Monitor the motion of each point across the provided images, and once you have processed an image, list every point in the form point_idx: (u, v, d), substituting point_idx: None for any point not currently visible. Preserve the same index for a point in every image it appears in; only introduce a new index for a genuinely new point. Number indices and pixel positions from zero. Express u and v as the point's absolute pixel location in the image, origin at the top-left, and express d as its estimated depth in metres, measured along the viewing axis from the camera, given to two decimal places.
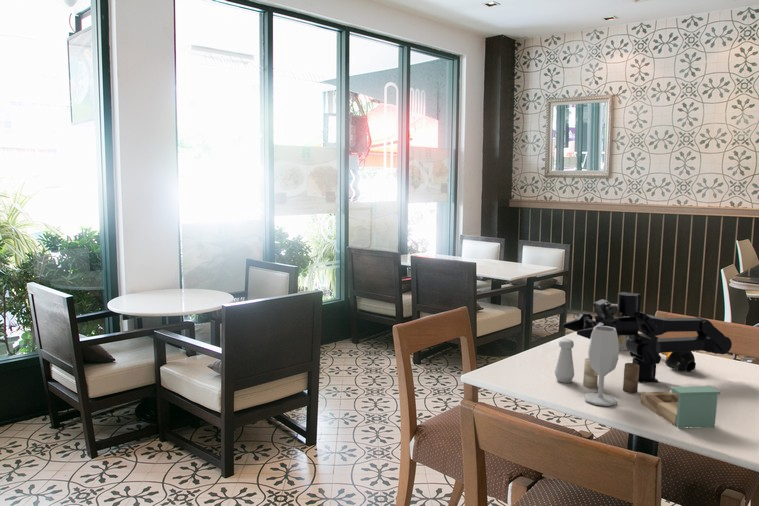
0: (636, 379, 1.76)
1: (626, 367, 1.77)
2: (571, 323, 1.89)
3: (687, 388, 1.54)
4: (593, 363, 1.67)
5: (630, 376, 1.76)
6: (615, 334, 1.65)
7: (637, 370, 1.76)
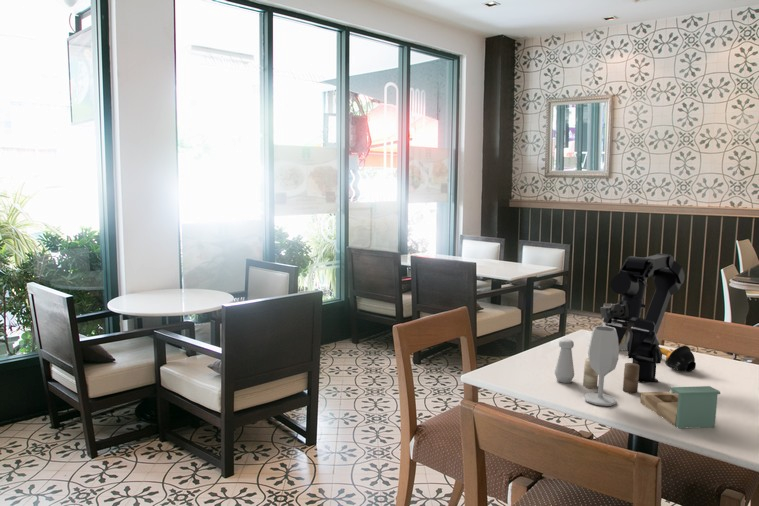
0: (636, 379, 1.76)
1: (626, 367, 1.77)
2: None
3: (687, 388, 1.54)
4: (593, 363, 1.67)
5: (630, 376, 1.76)
6: (615, 334, 1.65)
7: (637, 370, 1.76)
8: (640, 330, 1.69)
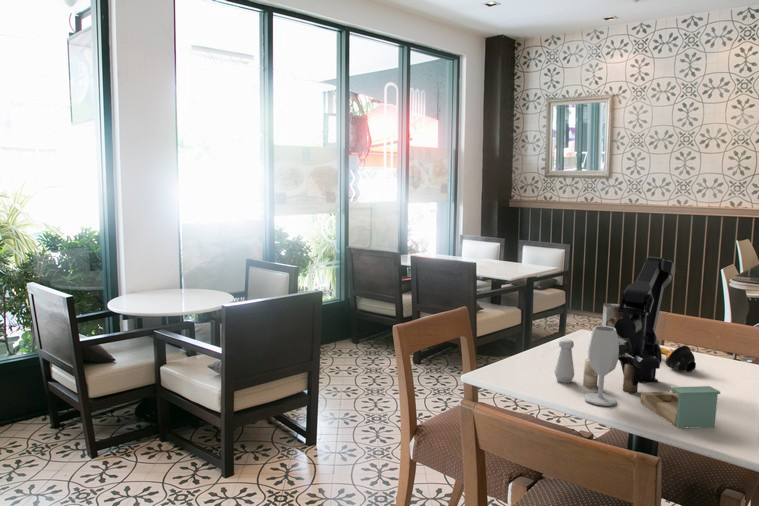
0: None
1: (626, 367, 1.77)
2: None
3: (687, 388, 1.54)
4: (593, 363, 1.67)
5: (630, 376, 1.76)
6: (615, 334, 1.65)
7: None
8: None
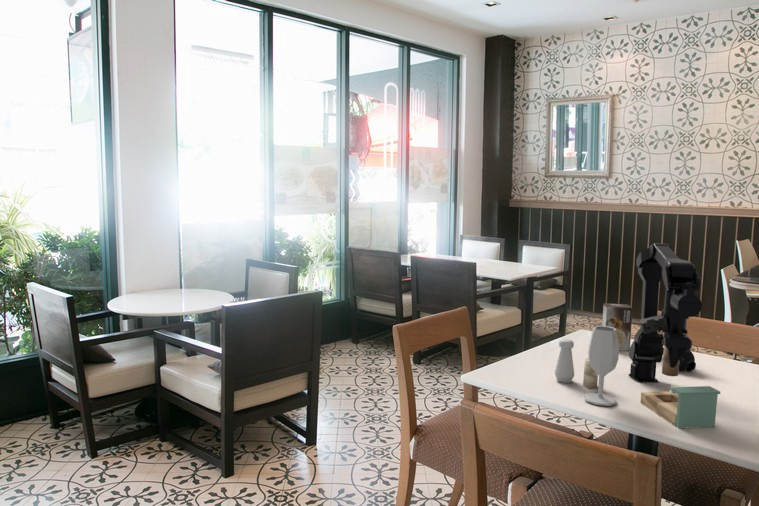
0: None
1: (664, 347, 1.63)
2: None
3: (687, 388, 1.54)
4: (593, 363, 1.67)
5: (667, 356, 1.62)
6: (615, 334, 1.65)
7: None
8: None
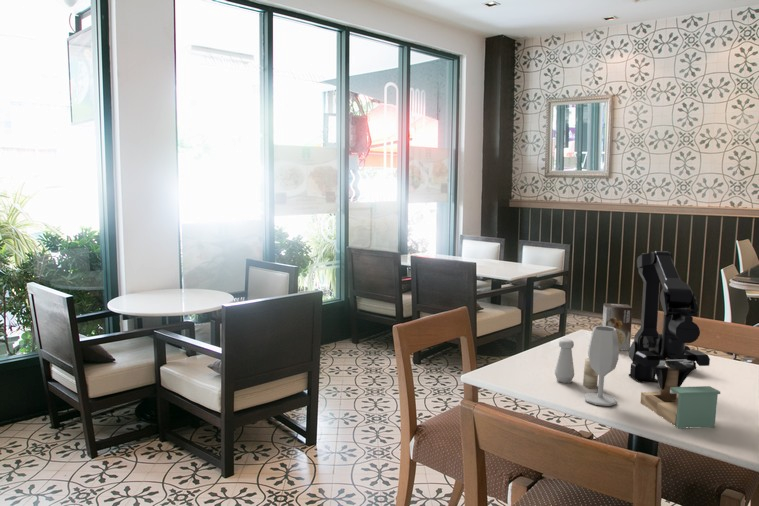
0: None
1: None
2: None
3: (687, 388, 1.54)
4: (593, 363, 1.67)
5: None
6: (615, 334, 1.65)
7: None
8: None
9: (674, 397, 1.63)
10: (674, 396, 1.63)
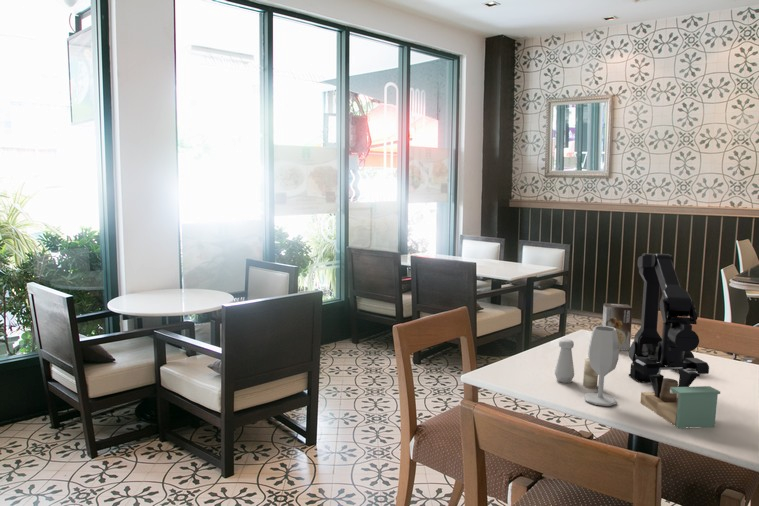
0: (663, 395, 1.64)
1: None
2: (679, 386, 1.65)
3: (687, 388, 1.54)
4: (593, 363, 1.67)
5: None
6: (615, 334, 1.65)
7: (664, 385, 1.64)
8: None
9: None
10: None
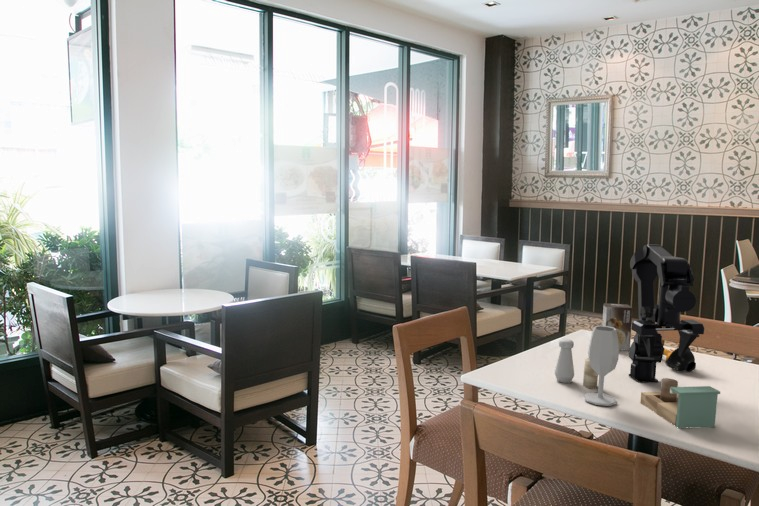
0: (663, 395, 1.64)
1: None
2: (679, 346, 1.72)
3: (687, 388, 1.54)
4: (593, 363, 1.67)
5: None
6: (615, 334, 1.65)
7: (664, 385, 1.64)
8: None
9: None
10: None
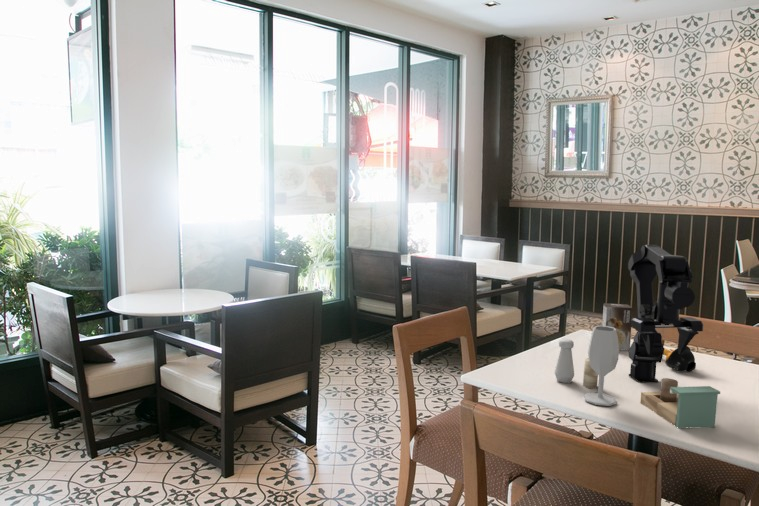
0: (663, 395, 1.64)
1: None
2: (678, 344, 1.73)
3: (687, 388, 1.54)
4: (593, 363, 1.67)
5: None
6: (615, 334, 1.65)
7: (664, 385, 1.64)
8: (639, 330, 1.70)
9: None
10: None
